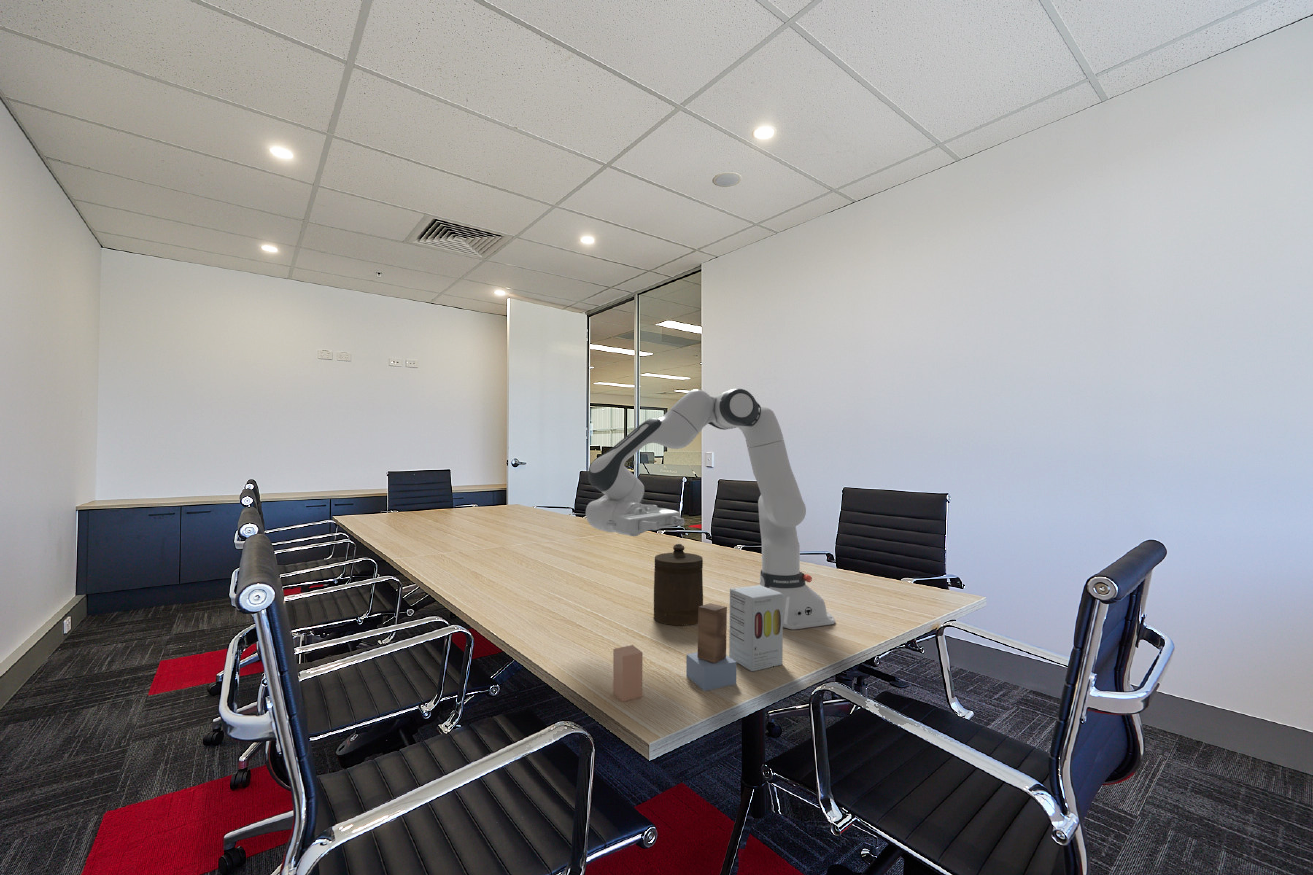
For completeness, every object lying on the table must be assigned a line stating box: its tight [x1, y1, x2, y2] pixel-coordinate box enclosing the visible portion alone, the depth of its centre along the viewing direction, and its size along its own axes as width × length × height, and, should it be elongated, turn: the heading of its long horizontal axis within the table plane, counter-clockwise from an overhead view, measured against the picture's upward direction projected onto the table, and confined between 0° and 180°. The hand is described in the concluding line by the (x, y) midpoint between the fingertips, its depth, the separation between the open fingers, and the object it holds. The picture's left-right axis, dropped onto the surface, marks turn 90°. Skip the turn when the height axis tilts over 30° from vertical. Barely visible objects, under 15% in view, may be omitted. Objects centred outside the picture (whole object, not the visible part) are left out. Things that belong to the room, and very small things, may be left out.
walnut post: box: [697, 602, 728, 663], centre depth 114 cm, size 4×4×11 cm
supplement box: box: [728, 584, 784, 672], centre depth 123 cm, size 10×9×17 cm
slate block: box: [685, 651, 737, 692], centre depth 113 cm, size 8×8×5 cm
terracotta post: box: [612, 644, 643, 702], centre depth 106 cm, size 4×4×9 cm
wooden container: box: [653, 543, 704, 627], centre depth 155 cm, size 15×15×22 cm
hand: (670, 524), depth 128 cm, fingers open, 8 cm apart
